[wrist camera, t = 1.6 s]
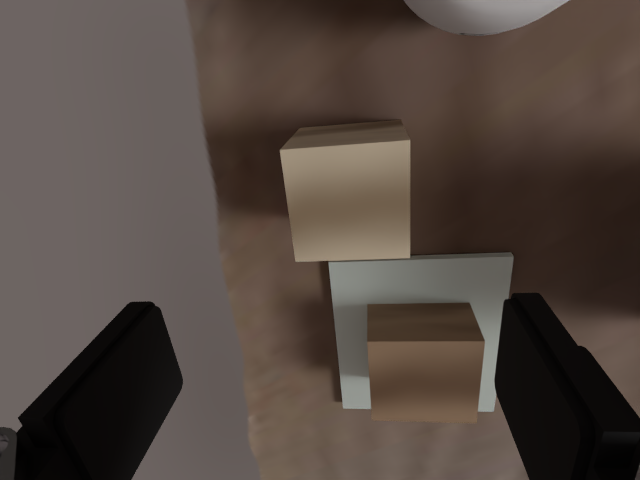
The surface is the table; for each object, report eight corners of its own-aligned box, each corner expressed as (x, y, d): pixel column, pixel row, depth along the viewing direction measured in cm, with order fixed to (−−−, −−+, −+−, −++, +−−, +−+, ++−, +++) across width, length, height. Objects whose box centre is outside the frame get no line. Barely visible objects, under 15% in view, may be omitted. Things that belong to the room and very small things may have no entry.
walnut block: (367, 304, 28) (367, 341, 24) (469, 302, 27) (485, 341, 23) (371, 377, 31) (371, 420, 27) (463, 378, 30) (476, 423, 26)
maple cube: (300, 127, 24) (279, 149, 18) (400, 119, 23) (410, 140, 17) (310, 218, 26) (295, 261, 21) (401, 214, 25) (410, 258, 20)
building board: (329, 258, 27) (328, 262, 27) (510, 252, 25) (513, 256, 25) (343, 402, 33) (343, 408, 33) (491, 405, 31) (493, 411, 31)
